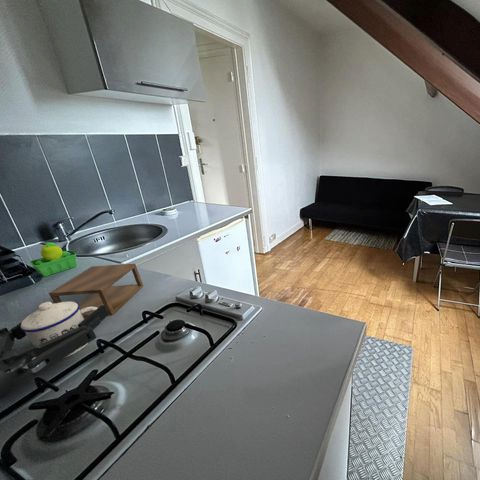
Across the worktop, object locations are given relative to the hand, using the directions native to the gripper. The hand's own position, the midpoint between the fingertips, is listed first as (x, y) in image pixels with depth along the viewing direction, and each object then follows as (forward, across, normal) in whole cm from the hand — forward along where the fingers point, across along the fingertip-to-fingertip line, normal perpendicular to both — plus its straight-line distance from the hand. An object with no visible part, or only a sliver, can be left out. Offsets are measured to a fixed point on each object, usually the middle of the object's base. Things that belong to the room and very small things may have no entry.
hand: (75, 311), depth 60 cm
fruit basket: (+36, +38, +7) cm, 53 cm away
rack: (+14, +5, +6) cm, 16 cm away
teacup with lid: (-3, 0, +7) cm, 7 cm away
